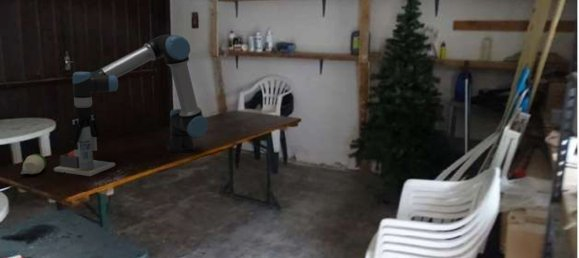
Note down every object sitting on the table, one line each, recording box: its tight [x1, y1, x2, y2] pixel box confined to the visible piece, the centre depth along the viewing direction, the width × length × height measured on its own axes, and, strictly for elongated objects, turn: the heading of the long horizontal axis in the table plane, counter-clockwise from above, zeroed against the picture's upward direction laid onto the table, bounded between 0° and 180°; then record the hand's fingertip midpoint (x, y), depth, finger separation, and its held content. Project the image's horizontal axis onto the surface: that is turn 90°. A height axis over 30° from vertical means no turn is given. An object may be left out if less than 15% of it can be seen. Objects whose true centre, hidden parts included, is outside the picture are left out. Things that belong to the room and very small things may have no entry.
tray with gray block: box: [53, 152, 116, 177], centre depth 234 cm, size 20×18×6 cm
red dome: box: [67, 150, 78, 158], centre depth 234 cm, size 7×7×7 cm
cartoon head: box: [20, 153, 47, 175], centre depth 225 cm, size 9×10×20 cm
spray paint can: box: [78, 126, 94, 170], centre depth 227 cm, size 6×6×20 cm
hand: (85, 153), depth 227 cm, fingers open, 10 cm apart
